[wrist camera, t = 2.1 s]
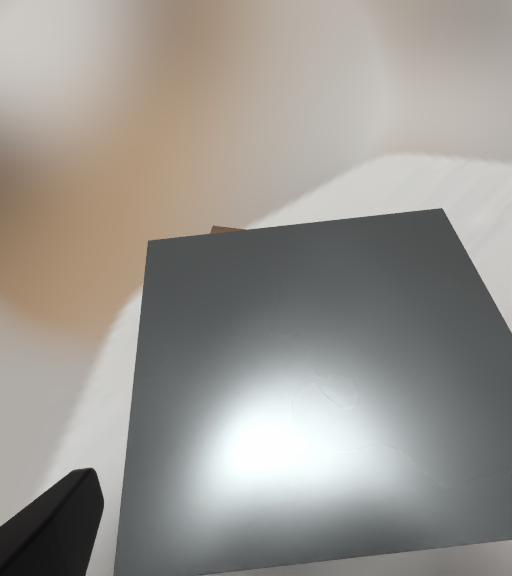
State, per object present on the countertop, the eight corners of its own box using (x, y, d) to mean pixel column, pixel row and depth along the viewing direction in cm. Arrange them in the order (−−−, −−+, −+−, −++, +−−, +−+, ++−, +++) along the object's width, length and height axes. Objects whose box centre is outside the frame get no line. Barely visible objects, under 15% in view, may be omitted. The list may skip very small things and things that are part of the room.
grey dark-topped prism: (343, 499, 14) (619, 526, 3) (245, 510, 14) (112, 583, 3) (325, 409, 16) (442, 207, 5) (239, 418, 16) (148, 240, 5)
